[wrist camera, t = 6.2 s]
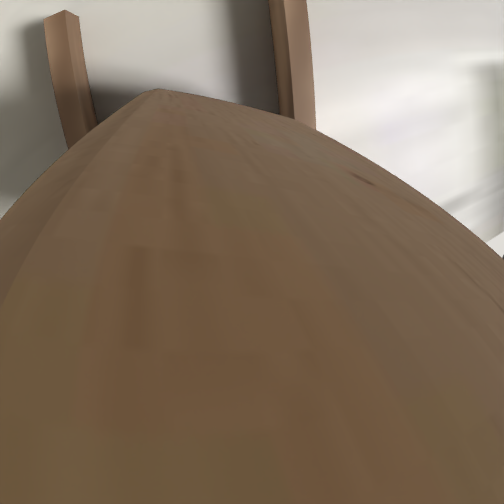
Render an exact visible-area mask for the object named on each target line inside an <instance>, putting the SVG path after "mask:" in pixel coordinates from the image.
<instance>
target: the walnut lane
mask: <svg viewBox="0 0 504 504" xmlns="http://www.w3.org/2000/svg"><path fill="white" fill-rule="evenodd" d="M268 3H269V11H270V20H271V28H272V38H273V47H274V57H275V67H276V77H277V88H278V99H279V111H280V115H281V116H285V117H288V118H291V119H295V120H297V121H299V122H301V123H303V124H305V125H307V126H309V127H311V128H313V129H315V130H316V117H315V96H314V80H313V65H312V53H311V41H310V31H309V21H308V12H307V3H306V0H268ZM43 20H44V30H45V39H46V46H47V54H48V60H49V66H50V72H51V78H52V83H53V88H54V93H55V98H56V102H57V107H58V111H59V115H60V119H61V123H62V127H63V131H64V135H65V138H66V142H67V146H68V149H70V148H71V147H72V146H73V145H74V144H76V143H77V142H78V141H79V140H80V139H82V138H83V137H84V136H85V135H86V134H88V133H89V132H90V131H91V130H92V129H94V128H95V127H96V126H98V123H97V119H96V115H95V110H94V106H93V101H92V97H91V92H90V87H89V82H88V77H87V71H86V65H85V59H84V53H83V47H82V40H81V32H80V24H79V17H78V16H76V15H74V14H72V13H71V12H69V11H67V10H63V11H61V12H59V13H56V14H54V15H52V16H50V17H47V18H45V19H43Z"/></svg>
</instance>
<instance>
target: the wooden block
mask: <svg viewBox="0 0 504 504" xmlns="http://www.w3.org/2000/svg"><path fill="white" fill-rule="evenodd" d="M0 504H504V259H502V258H501V257H500V256H499V255H498V254H497V253H496V252H495V251H494V250H492V249H491V248H490V247H489V246H488V245H487V244H486V243H484V242H483V241H482V240H481V239H480V238H479V237H477V236H476V235H475V234H474V233H473V232H471V231H470V230H469V229H468V228H467V227H465V226H464V225H463V224H462V223H460V222H459V221H458V220H456V219H455V218H454V217H453V216H451V215H450V214H449V213H447V212H446V211H445V210H443V209H442V208H441V207H439V206H438V205H437V204H435V203H434V202H433V201H431V200H430V199H428V198H427V197H426V196H424V195H423V194H421V193H420V192H418V191H417V190H416V189H414V188H413V187H411V186H410V185H408V184H407V183H405V182H404V181H402V180H401V179H399V178H398V177H396V176H395V175H393V174H391V173H390V172H388V171H387V170H385V169H384V168H382V167H380V166H379V165H377V164H375V163H374V162H372V161H371V160H369V159H367V158H366V157H364V156H362V155H360V154H359V153H357V152H355V151H354V150H352V149H350V148H348V147H346V146H345V145H343V144H341V143H339V142H337V141H336V140H334V139H332V138H330V137H328V136H326V135H324V134H322V133H321V132H319V131H317V130H315V129H313V128H311V127H309V126H307V125H305V124H303V123H301V122H299V121H297V120H295V119H291V118H288V117H285V116H281V115H278V114H274V113H271V112H267V111H264V110H260V109H256V108H252V107H248V106H244V105H240V104H236V103H232V102H227V101H223V100H218V99H214V98H209V97H204V96H199V95H194V94H188V93H183V92H177V91H170V90H164V89H154V90H150V91H146V92H143V93H142V94H140V95H139V96H137V97H136V98H134V99H133V100H131V101H130V102H129V103H127V104H126V105H124V106H123V107H122V108H120V109H119V110H117V111H116V112H115V113H113V114H112V115H111V116H109V117H108V118H107V119H105V120H104V121H103V122H101V123H100V124H99V125H98V126H96V127H95V128H94V129H92V130H91V131H90V132H89V133H88V134H86V135H85V136H84V137H83V138H82V139H80V140H79V141H78V142H77V143H76V144H74V145H73V146H72V147H71V148H70V149H69V150H68V151H66V152H65V153H64V154H63V155H62V156H61V157H60V158H59V159H58V160H57V161H55V162H54V163H53V164H52V165H51V166H50V167H49V168H48V169H47V170H46V171H45V172H44V173H43V174H42V175H41V176H40V177H39V178H38V179H37V180H36V181H35V182H34V183H33V184H32V185H31V186H30V187H29V188H28V189H27V190H26V191H25V192H24V193H23V195H22V196H21V197H20V198H19V199H18V200H17V201H16V202H15V203H14V204H13V206H12V207H11V208H10V209H9V210H8V211H7V213H6V214H5V215H4V216H3V217H2V218H1V220H0Z"/></svg>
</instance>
